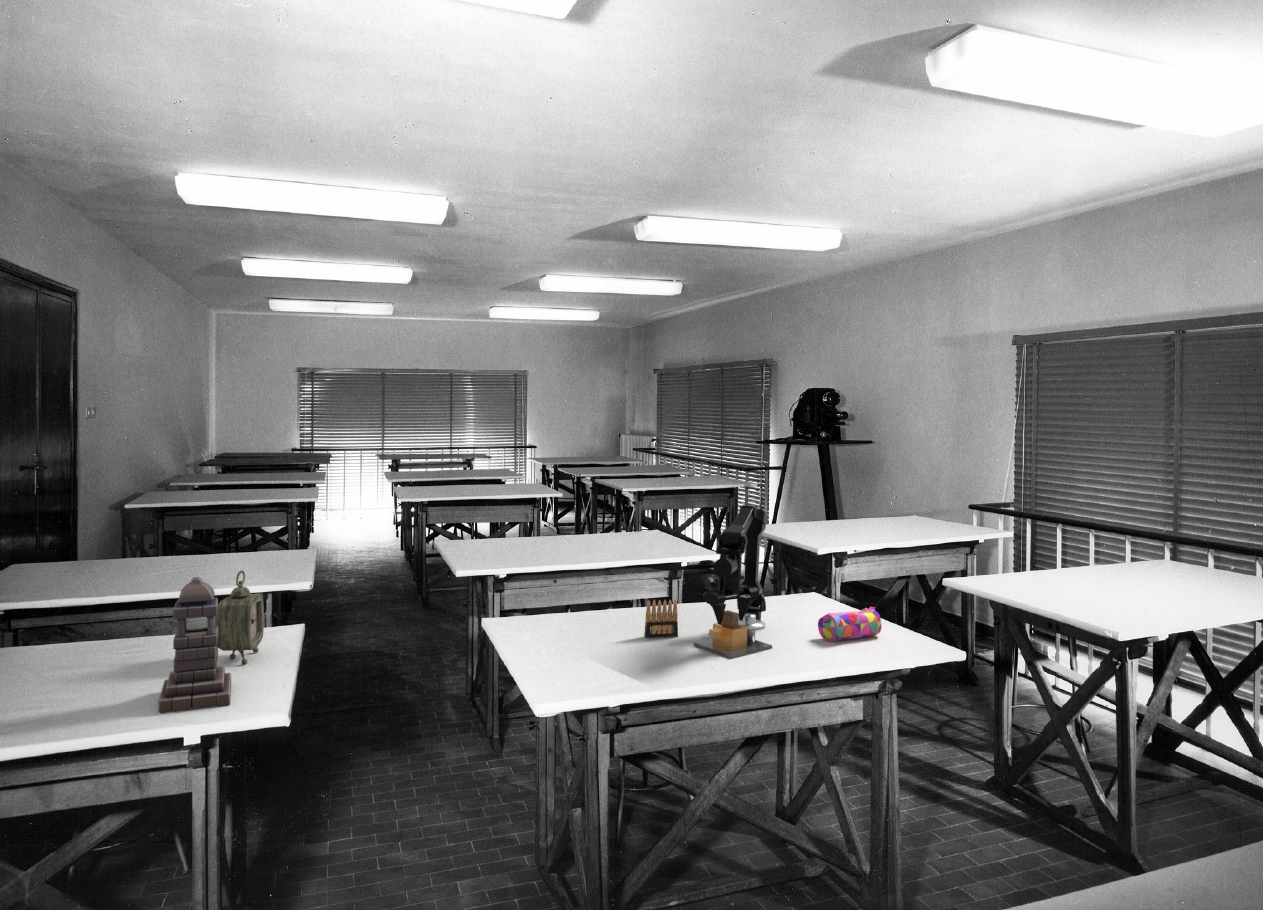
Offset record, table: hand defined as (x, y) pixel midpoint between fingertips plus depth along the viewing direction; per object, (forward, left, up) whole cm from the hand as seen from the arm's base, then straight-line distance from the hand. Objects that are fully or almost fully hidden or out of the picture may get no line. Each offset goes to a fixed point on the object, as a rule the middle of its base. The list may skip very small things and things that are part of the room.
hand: (730, 622), depth 252 cm
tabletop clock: (+123, -71, -8) cm, 142 cm away
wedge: (0, 0, -7) cm, 7 cm away
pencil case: (-41, +14, -8) cm, 44 cm away
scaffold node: (-3, 0, -8) cm, 9 cm away
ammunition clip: (+10, -21, -8) cm, 24 cm away
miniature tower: (+139, -45, -8) cm, 146 cm away
